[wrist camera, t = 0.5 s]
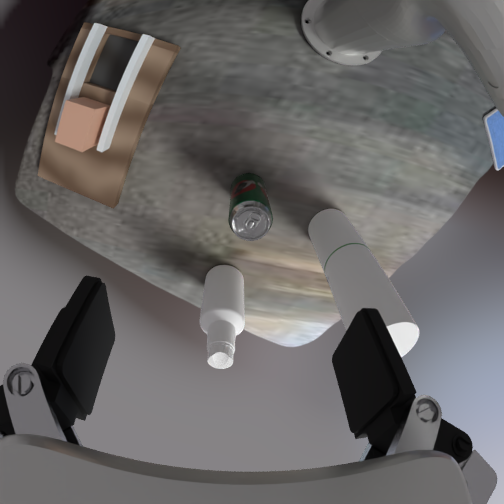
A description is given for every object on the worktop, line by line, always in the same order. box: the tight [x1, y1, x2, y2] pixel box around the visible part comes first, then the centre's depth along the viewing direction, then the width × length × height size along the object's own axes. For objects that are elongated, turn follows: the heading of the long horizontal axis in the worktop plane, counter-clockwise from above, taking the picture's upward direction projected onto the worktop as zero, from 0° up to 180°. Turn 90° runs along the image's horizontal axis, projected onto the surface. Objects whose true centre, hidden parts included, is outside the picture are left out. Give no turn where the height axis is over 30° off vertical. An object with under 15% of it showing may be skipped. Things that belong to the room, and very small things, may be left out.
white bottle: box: [199, 265, 245, 369], centre depth 43 cm, size 7×7×18 cm
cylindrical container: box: [308, 209, 419, 357], centre depth 36 cm, size 7×7×25 cm
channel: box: [54, 23, 155, 152], centre depth 29 cm, size 17×9×2 cm, turn 152°
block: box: [55, 97, 111, 152], centre depth 31 cm, size 6×5×5 cm
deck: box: [38, 22, 180, 208], centre depth 33 cm, size 26×16×2 cm, turn 152°
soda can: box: [229, 173, 273, 241], centre depth 37 cm, size 5×5×12 cm
